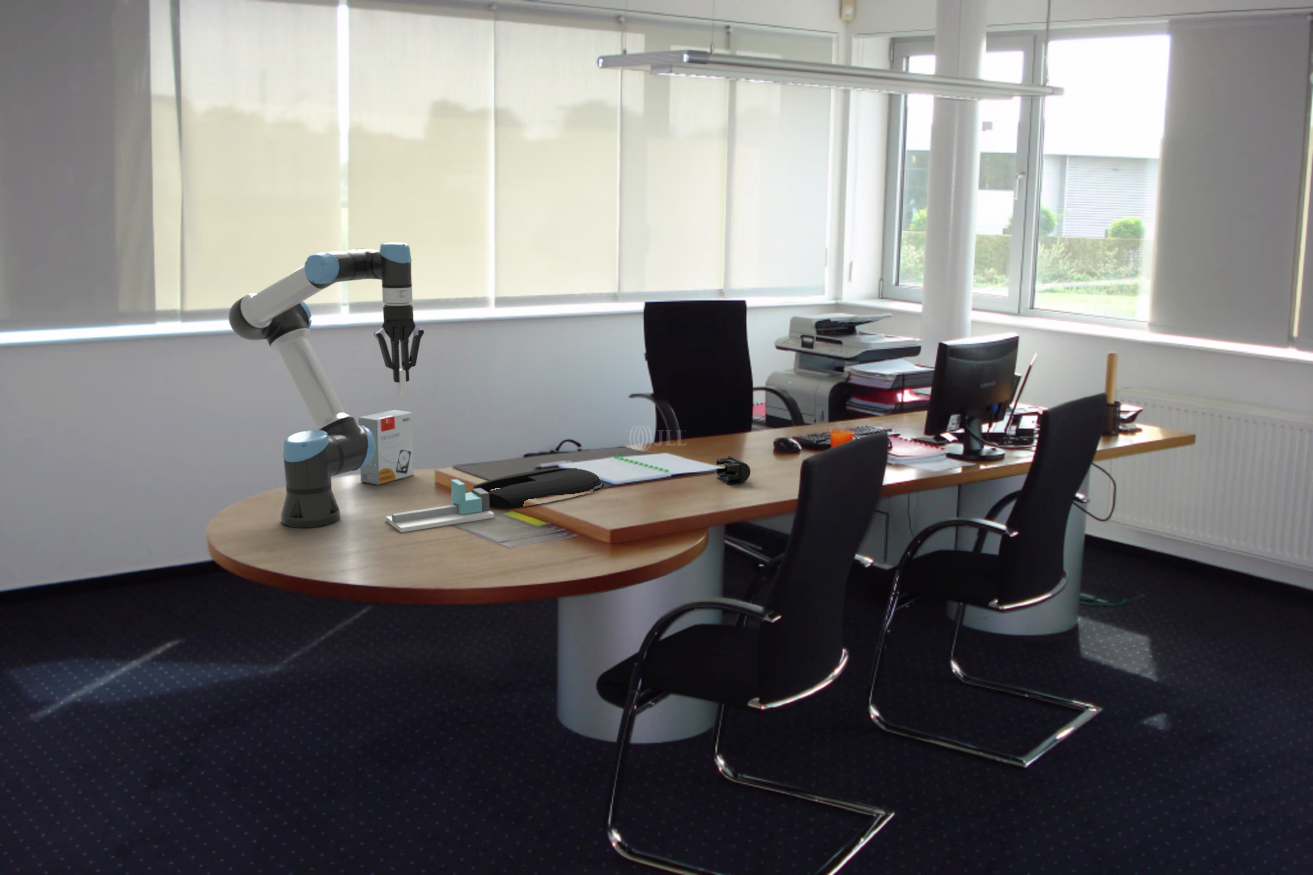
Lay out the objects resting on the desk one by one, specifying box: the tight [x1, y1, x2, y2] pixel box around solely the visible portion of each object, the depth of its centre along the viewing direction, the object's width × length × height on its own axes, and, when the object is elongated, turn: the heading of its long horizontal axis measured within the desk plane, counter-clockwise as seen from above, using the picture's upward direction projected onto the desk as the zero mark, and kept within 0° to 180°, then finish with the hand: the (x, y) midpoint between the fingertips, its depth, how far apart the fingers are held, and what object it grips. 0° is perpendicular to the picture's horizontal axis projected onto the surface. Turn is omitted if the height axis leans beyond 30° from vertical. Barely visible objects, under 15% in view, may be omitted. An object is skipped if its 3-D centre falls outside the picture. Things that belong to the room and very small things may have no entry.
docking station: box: [472, 467, 601, 509], centre depth 346 cm, size 25×40×5 cm, turn 129°
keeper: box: [450, 478, 482, 515], centre depth 321 cm, size 6×7×8 cm
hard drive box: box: [357, 409, 415, 486], centre depth 358 cm, size 16×8×20 cm, turn 148°
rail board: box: [385, 488, 495, 533], centre depth 318 cm, size 26×12×6 cm, turn 121°
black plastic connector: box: [715, 455, 751, 486], centre depth 358 cm, size 10×7×7 cm
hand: (402, 394), depth 309 cm, fingers closed
